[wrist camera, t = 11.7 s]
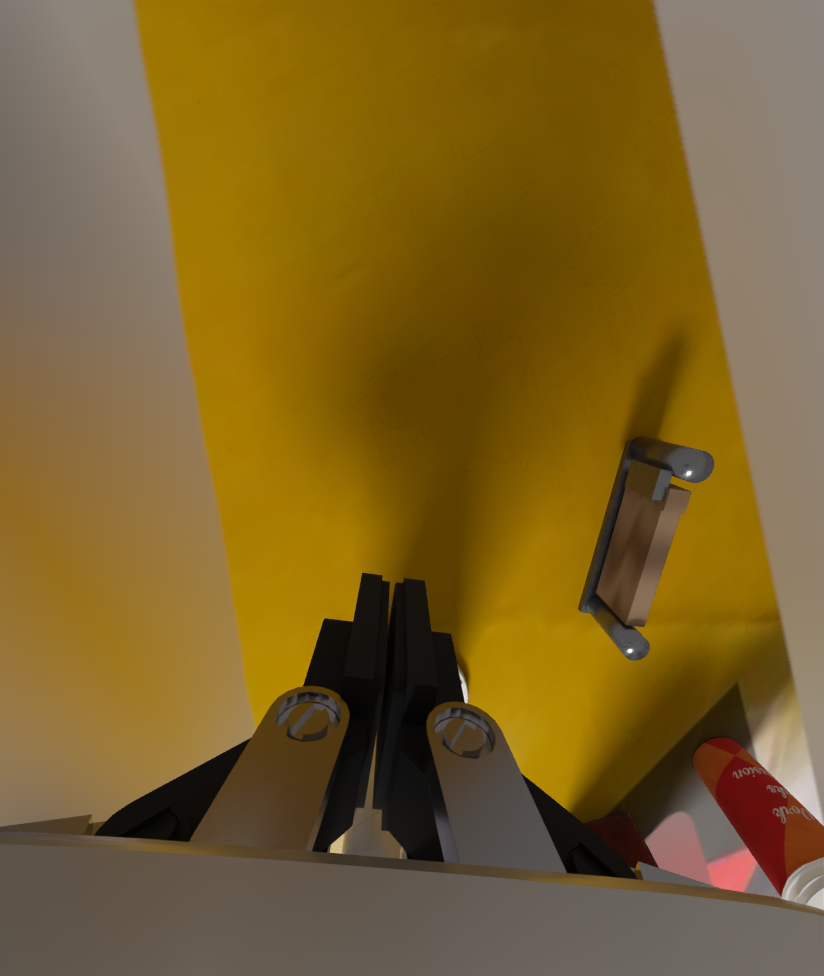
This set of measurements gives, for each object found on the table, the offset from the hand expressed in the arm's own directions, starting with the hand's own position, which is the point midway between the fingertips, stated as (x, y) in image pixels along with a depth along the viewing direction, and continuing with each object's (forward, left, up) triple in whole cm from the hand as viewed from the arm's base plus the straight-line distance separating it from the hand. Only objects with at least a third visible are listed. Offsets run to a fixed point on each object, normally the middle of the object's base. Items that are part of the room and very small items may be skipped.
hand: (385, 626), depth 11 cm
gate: (-5, -22, -26) cm, 34 cm away
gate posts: (-4, -22, -27) cm, 35 cm away
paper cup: (-29, -41, -27) cm, 57 cm away
